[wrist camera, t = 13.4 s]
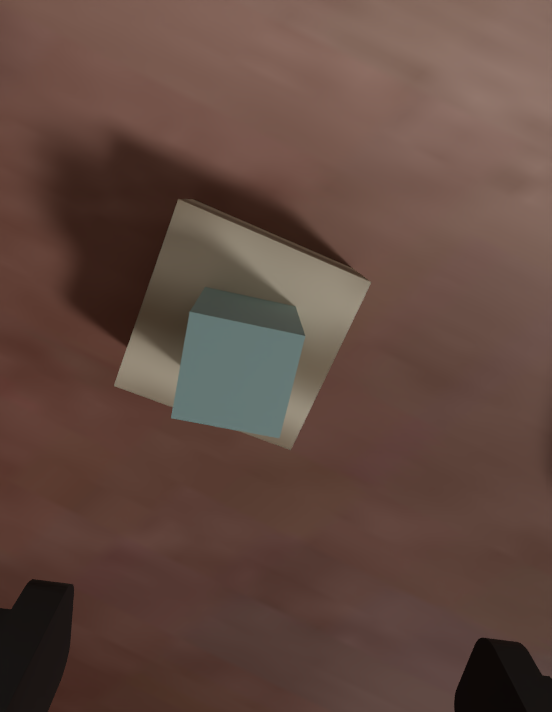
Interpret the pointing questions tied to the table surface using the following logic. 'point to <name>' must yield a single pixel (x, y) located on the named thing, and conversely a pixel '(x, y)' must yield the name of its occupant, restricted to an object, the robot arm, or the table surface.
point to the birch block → (246, 277)
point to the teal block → (238, 363)
